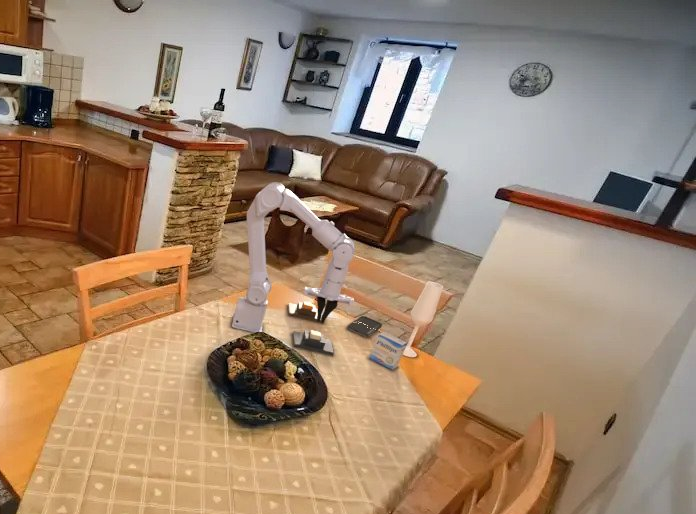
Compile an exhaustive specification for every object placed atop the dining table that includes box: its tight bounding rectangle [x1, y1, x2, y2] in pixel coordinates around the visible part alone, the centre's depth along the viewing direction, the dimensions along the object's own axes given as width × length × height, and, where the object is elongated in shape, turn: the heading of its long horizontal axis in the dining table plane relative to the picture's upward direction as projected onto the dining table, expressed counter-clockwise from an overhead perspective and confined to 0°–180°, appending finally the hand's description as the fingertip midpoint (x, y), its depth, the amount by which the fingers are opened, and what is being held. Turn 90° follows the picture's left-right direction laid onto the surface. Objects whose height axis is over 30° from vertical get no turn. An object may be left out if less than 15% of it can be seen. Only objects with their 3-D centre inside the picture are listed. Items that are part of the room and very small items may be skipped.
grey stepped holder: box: [292, 329, 335, 357], centre depth 155 cm, size 12×9×3 cm
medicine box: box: [368, 331, 408, 371], centre depth 152 cm, size 8×4×9 cm, turn 47°
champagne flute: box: [402, 280, 444, 358], centre depth 158 cm, size 7×7×24 cm
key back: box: [302, 300, 314, 310], centre depth 174 cm, size 3×3×2 cm
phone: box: [346, 315, 383, 338], centre depth 175 cm, size 8×1×15 cm
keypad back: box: [287, 301, 323, 324], centre depth 175 cm, size 12×9×3 cm
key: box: [309, 329, 322, 340], centre depth 154 cm, size 3×3×2 cm
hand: (320, 320), depth 152 cm, fingers closed
